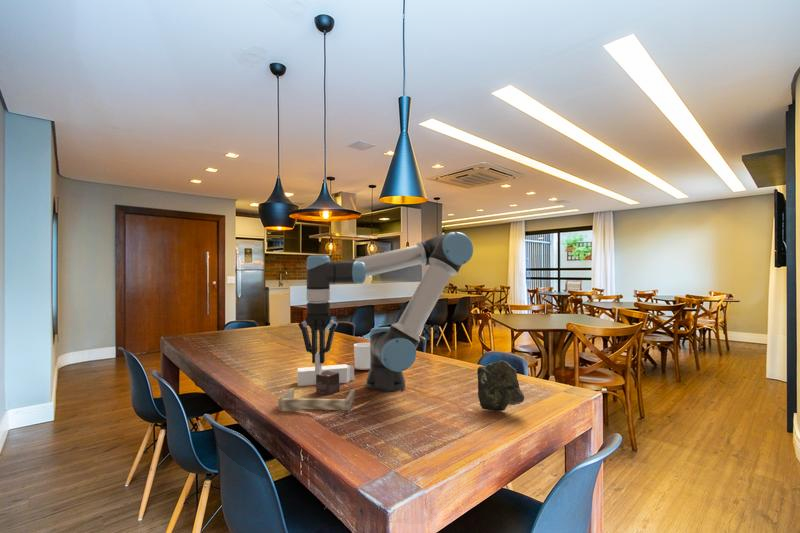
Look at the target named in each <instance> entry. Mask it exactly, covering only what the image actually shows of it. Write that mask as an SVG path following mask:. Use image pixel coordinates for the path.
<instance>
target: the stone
mask: <svg viewBox="0 0 800 533" xmlns="http://www.w3.org/2000/svg"><path fill="white" fill-rule="evenodd" d="M476 373H477V397H478V401H479V406H480V407H481V409H482V410H487V411H494V412H497V411H498V412H499V411H500V412H502V411H505V410H506V408H507V407H508V406H516V405H520V404H521V403H523V402H524V401H525V395H524V393H523V392H522V389H521V388H520V384H519V380H518V372H517V369H516V368H515V367H514V366H512V365H511V364H510V363H509V362H508V361H506V360H503V359H502V360H499V361H494V362H492V363H488V364H487V365H483V366H482V365H481V366H479V367H478V368H477V372H476Z"/></svg>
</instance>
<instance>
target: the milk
mask: <svg viewBox="0 0 800 533" xmlns="http://www.w3.org/2000/svg"><path fill="white" fill-rule="evenodd" d="M325 371H332V372H338V373H339V384H348V383H350V381H355V365H352V364H351V365H349V364H346V363H343V364H333V365H332V364H329V365H322V372H325ZM322 372H321V373H322ZM301 386H316V374H315V366H306V367H297V387H301Z"/></svg>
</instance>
